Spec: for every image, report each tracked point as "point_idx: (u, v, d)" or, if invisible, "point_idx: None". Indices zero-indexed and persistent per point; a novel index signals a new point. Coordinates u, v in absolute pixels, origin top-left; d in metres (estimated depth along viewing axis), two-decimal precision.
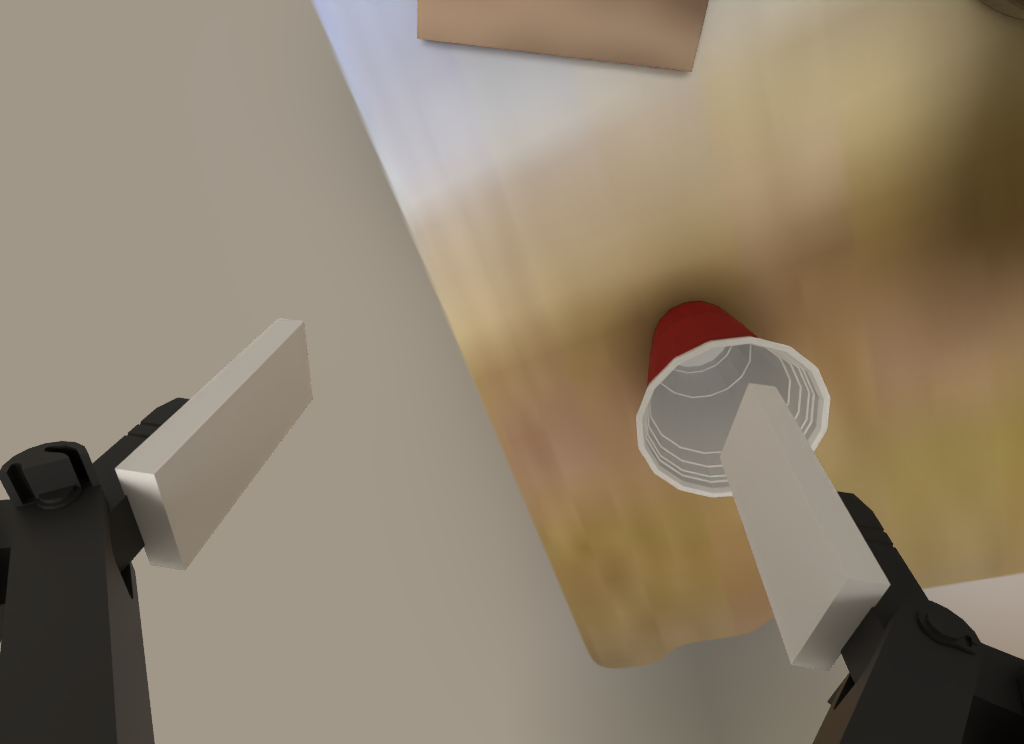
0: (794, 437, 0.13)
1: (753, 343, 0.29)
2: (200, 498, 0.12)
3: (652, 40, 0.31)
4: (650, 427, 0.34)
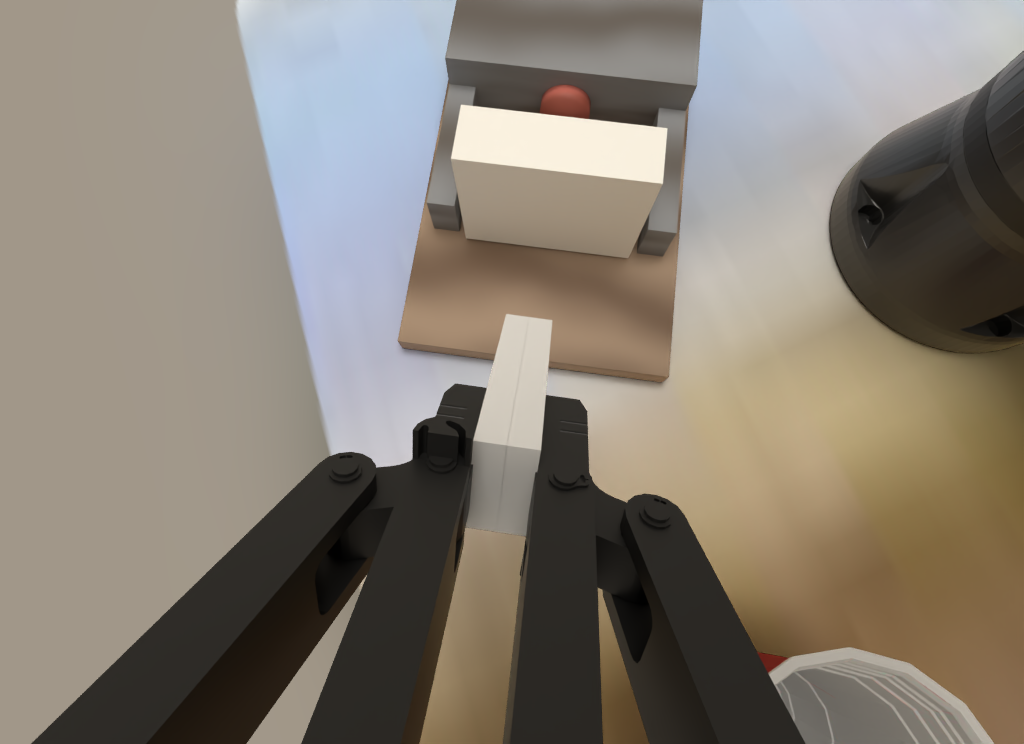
0: (539, 355, 0.15)
1: (855, 658, 0.19)
2: None
3: (626, 350, 0.32)
4: None
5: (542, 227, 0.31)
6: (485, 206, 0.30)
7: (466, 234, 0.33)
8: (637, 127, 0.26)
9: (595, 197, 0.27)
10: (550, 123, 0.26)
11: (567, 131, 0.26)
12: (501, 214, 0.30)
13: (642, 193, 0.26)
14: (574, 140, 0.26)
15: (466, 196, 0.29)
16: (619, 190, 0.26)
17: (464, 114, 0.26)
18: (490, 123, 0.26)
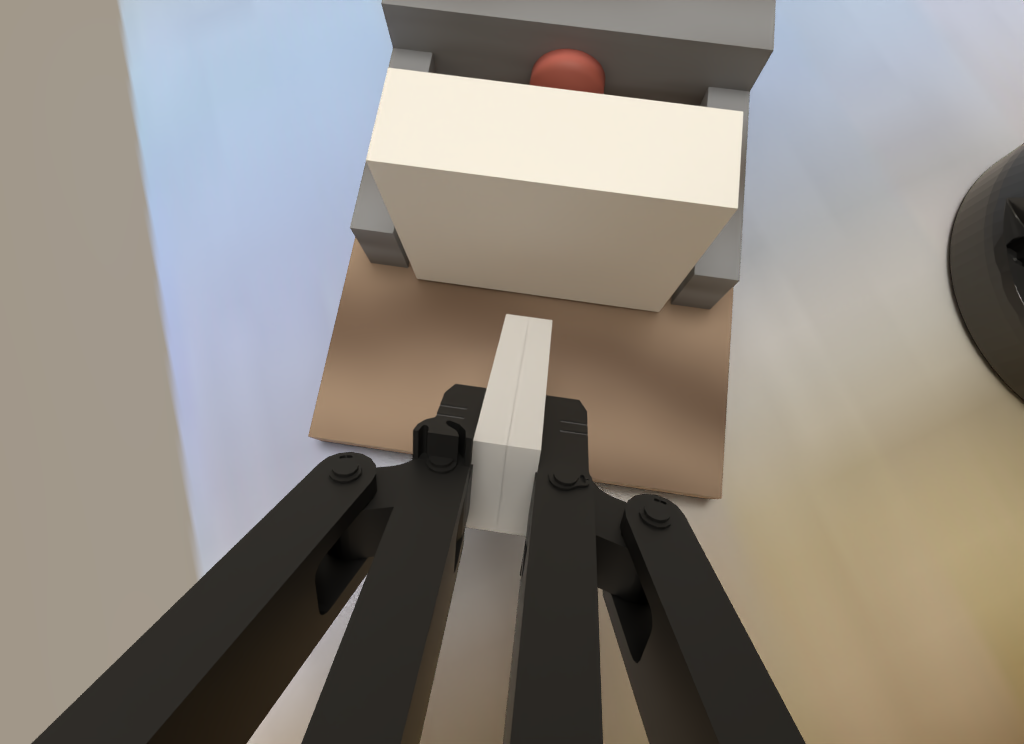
0: (539, 355, 0.15)
1: None
2: None
3: (656, 454, 0.21)
4: None
5: (529, 268, 0.20)
6: (437, 236, 0.18)
7: (416, 274, 0.22)
8: (691, 110, 0.15)
9: (616, 228, 0.16)
10: (541, 100, 0.15)
11: (570, 115, 0.15)
12: (464, 248, 0.19)
13: (697, 222, 0.15)
14: (582, 130, 0.15)
15: (404, 221, 0.18)
16: (659, 218, 0.15)
17: (393, 84, 0.15)
18: (437, 100, 0.15)
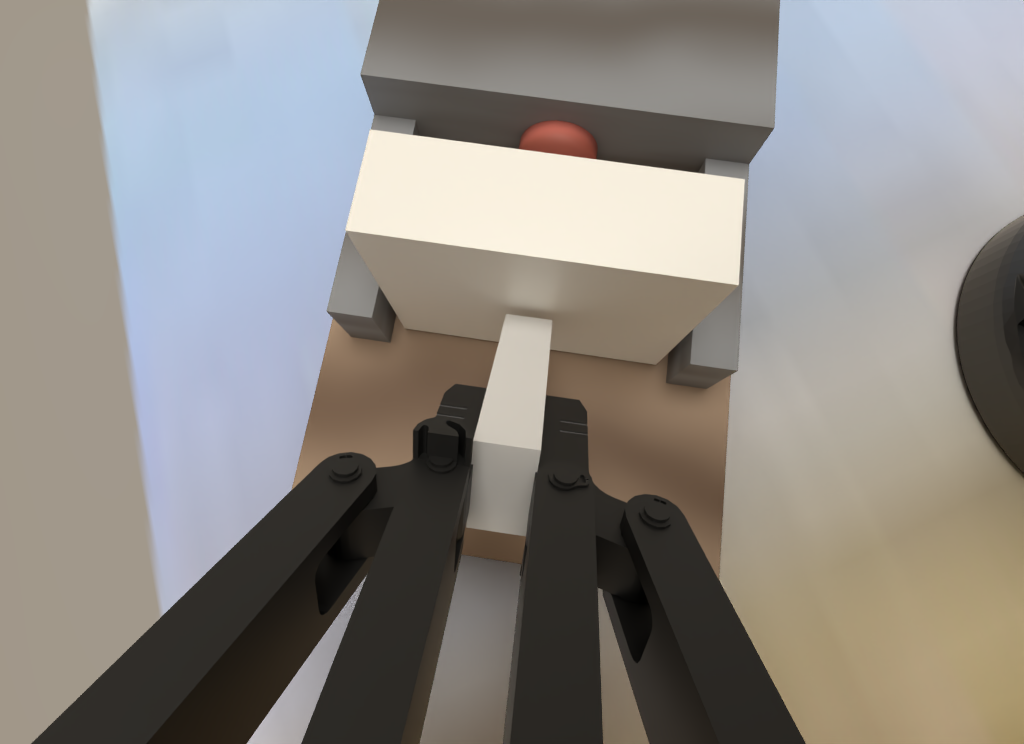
0: (539, 355, 0.15)
1: None
2: None
3: None
4: None
5: None
6: (424, 295, 0.18)
7: (403, 324, 0.21)
8: (689, 178, 0.14)
9: (610, 296, 0.15)
10: (531, 166, 0.14)
11: (562, 182, 0.14)
12: (453, 305, 0.18)
13: (696, 295, 0.15)
14: (574, 198, 0.14)
15: (389, 281, 0.17)
16: (655, 290, 0.15)
17: (375, 147, 0.14)
18: (421, 165, 0.14)
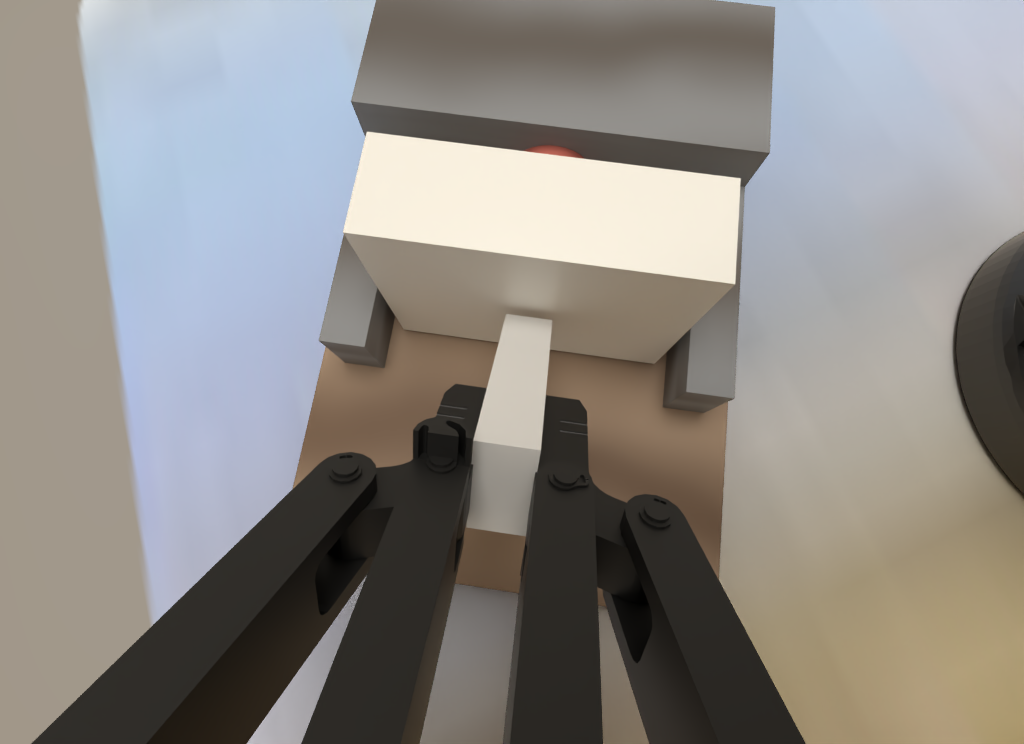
0: (539, 355, 0.15)
1: None
2: None
3: None
4: None
5: None
6: (422, 296, 0.18)
7: (402, 326, 0.21)
8: (685, 177, 0.14)
9: (608, 296, 0.15)
10: (528, 166, 0.14)
11: (558, 183, 0.14)
12: (451, 306, 0.18)
13: (693, 294, 0.15)
14: (571, 199, 0.14)
15: (387, 282, 0.17)
16: (652, 289, 0.15)
17: (372, 149, 0.15)
18: (418, 166, 0.14)
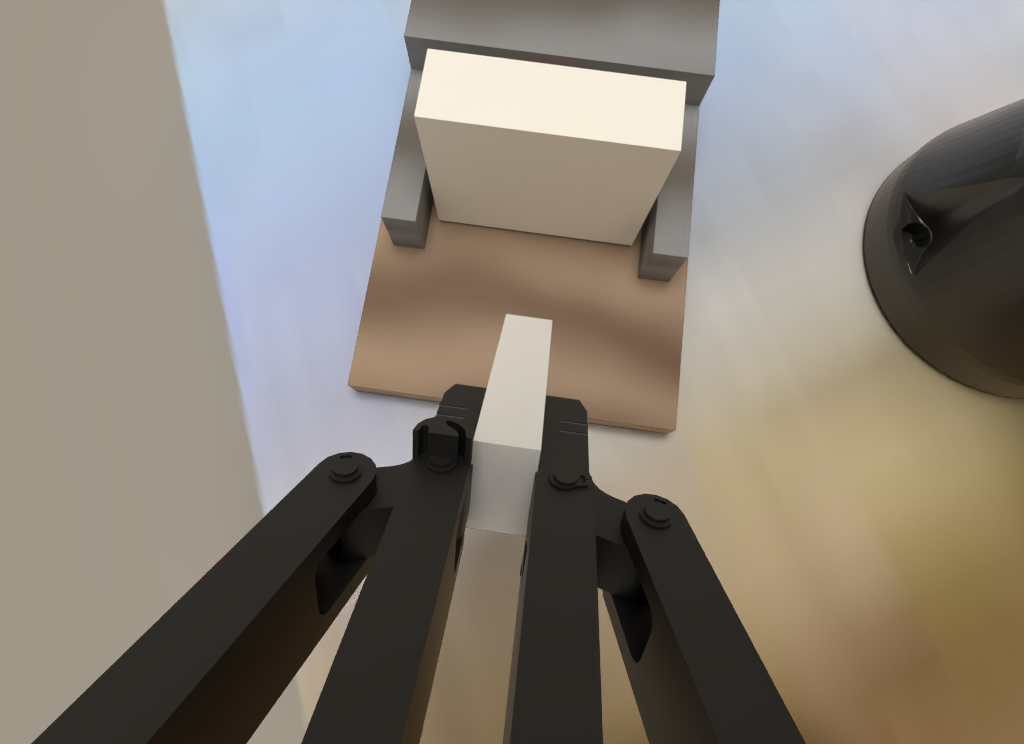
0: (539, 355, 0.15)
1: None
2: None
3: (625, 397, 0.27)
4: None
5: (529, 207, 0.26)
6: (460, 179, 0.24)
7: (438, 215, 0.28)
8: (648, 80, 0.21)
9: (595, 169, 0.22)
10: (540, 73, 0.21)
11: (561, 84, 0.21)
12: (480, 189, 0.25)
13: (654, 163, 0.21)
14: (570, 95, 0.21)
15: (436, 166, 0.23)
16: (626, 160, 0.21)
17: (431, 60, 0.21)
18: (464, 72, 0.21)
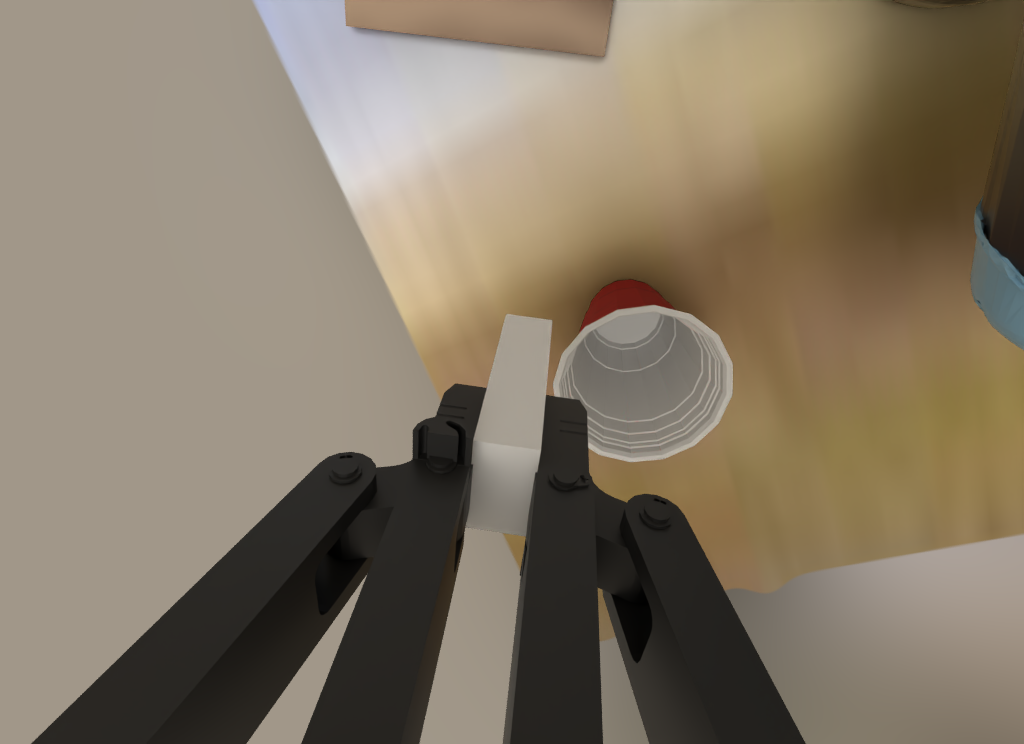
0: (539, 355, 0.15)
1: (656, 311, 0.31)
2: None
3: (565, 27, 0.33)
4: (572, 395, 0.36)
5: None
6: None
7: None
8: None
9: None
10: None
11: None
12: None
13: None
14: None
15: None
16: None
17: None
18: None
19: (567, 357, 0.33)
